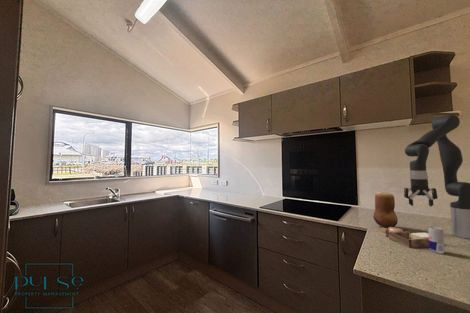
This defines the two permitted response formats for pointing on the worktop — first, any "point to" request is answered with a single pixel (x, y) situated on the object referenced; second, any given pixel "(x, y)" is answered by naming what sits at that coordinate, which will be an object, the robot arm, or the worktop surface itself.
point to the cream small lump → (395, 229)
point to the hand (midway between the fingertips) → (421, 205)
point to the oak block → (384, 231)
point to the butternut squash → (385, 210)
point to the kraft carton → (419, 235)
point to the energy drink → (436, 240)
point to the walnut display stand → (408, 240)
